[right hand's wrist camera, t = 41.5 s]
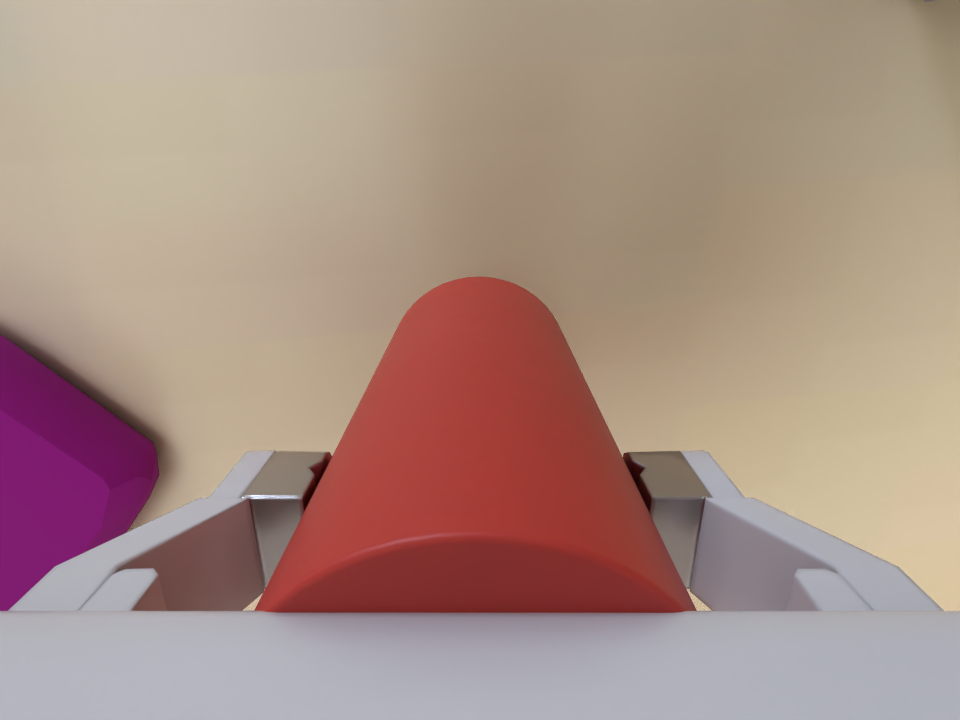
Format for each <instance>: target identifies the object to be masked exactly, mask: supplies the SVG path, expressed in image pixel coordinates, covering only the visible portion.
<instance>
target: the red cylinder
mask: <svg viewBox="0 0 960 720" xmlns="http://www.w3.org/2000/svg"><path fill="white" fill-rule="evenodd" d="M254 611H265V612H276V613H677V612H683V611H697V610H696V608H695V606H694V604H693V602H692V600H691V598H690V596H689V594H688V592H687V590H686V588H685V586H684V584H683V581H682V579H681V577H680V575H679V573H678V571H677V569H676V567H675V565H674V563H673V561H672V559H671V557H670V555H669V553H668V550H667V548H666V546H665V544H664V542H663V540H662V538H661V536H660V534H659V532H658V530H657V528H656V526H655V524H654V521H653V519H652V517H651V515H650V513H649V511H648V509H647V507H646V505H645V503H644V501H643V499H642V497H641V495H640V492H639V490H638V488H637V486H636V484H635V482H634V480H633V478H632V476H631V474H630V472H629V470H628V468H627V466H626V464H625V461H624V459H623V457H622V455H621V453H620V451H619V449H618V447H617V445H616V443H615V441H614V439H613V437H612V435H611V432H610V430H609V428H608V426H607V424H606V422H605V420H604V418H603V416H602V414H601V412H600V410H599V408H598V406H597V404H596V401H595V399H594V397H593V395H592V393H591V391H590V389H589V387H588V385H587V383H586V381H585V379H584V377H583V375H582V372H581V370H580V368H579V366H578V364H577V362H576V360H575V358H574V356H573V354H572V352H571V350H570V348H569V346H568V344H567V341H566V339H565V337H564V335H563V333H562V331H561V329H560V327H559V325H558V323H557V321H556V319H555V318H554V316H553V315H552V313H551V312H550V311H549V309H548V308H547V307H546V306H545V305H544V304H543V303H542V302H541V301H540V300H539V299H538V298H537V297H536V296H534V295H533V294H531V293H530V292H528V291H527V290H526V289H524V288H522V287H520V286H518V285H516V284H513V283H510V282H507V281H505V280H500V279H496V278H489V277H467V278H462V279H457V280H453V281H450V282H447V283H444V284H442V285H440V286H438V287H436V288H434V289H432V290H430V291H429V292H427V293H426V294H424V295H423V296H422V297H421V298H420V299H418V300H417V301H416V302H415V303H414V304H413V305H412V306H411V308H410V309H409V310H408V311H407V312H406V314H405V316H404V317H403V319H402V320H401V322H400V324H399V326H398V328H397V330H396V332H395V334H394V336H393V338H392V340H391V342H390V344H389V346H388V348H387V350H386V351H385V353H384V355H383V357H382V359H381V361H380V363H379V365H378V367H377V369H376V371H375V373H374V375H373V377H372V379H371V381H370V383H369V385H368V387H367V389H366V391H365V393H364V395H363V397H362V399H361V401H360V403H359V405H358V407H357V409H356V411H355V413H354V415H353V417H352V419H351V421H350V423H349V425H348V427H347V429H346V431H345V433H344V434H343V436H342V438H341V440H340V442H339V444H338V446H337V448H336V450H335V452H334V454H333V456H332V458H331V460H330V462H329V464H328V466H327V468H326V470H325V472H324V474H323V476H322V478H321V480H320V482H319V484H318V486H317V488H316V490H315V492H314V494H313V496H312V498H311V500H310V502H309V504H308V506H307V508H306V510H305V512H304V514H303V516H302V518H301V519H300V521H299V523H298V525H297V527H296V529H295V531H294V533H293V535H292V537H291V539H290V541H289V543H288V545H287V547H286V549H285V551H284V553H283V555H282V557H281V559H280V561H279V563H278V565H277V567H276V569H275V571H274V573H273V575H272V577H271V579H270V581H269V583H268V585H267V587H266V589H265V591H264V593H263V595H262V597H261V599H260V601H259V602H258V604H257V606H256V608H255V610H254Z"/></svg>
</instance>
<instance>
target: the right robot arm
mask: <svg viewBox="0 0 960 720" xmlns="http://www.w3.org/2000/svg"><path fill="white" fill-rule="evenodd" d="M331 458H332V455H331V454H330V452H302V451H275V450H274V451H250V452H246V453H245V454H244V456H243V457H242V458H241V459H240V461H239V462H238V463H237V464H236V465H235V467H234V468H233V469H232V470H231V472H230V473H229V474H228V475H227V476H226V478H225V479H224V480H223V481H222V482H221V484H220V485H219V486H218V487H217V489H216V490H215V491H214V492H213V493H212V495H211V496H210V497H209V498H199V499H197V500H195V501H193V502H191V503H188V504H186V505H184V506H182V507H180V508H178V509H176V510H174V511H171V512H169V513H167V514H165V515H163V516H161V517H159V518H157V519H154V520H152V521H150V522H148V523H146V524H144V525H142V526H140V527H137V528H135V529H133V530H131V531H129V532H127V533H125V534H123V535H121V536H118V537H116V538H114V539H112V540H110V541H108V542H106V543H104V544H101V545H99V546H97V547H95V548H93V549H91V550H89V551H87V552H84V553H82V554H80V555H78V556H76V557H74V558H72V559H70V560H67V561H65V562H63V563H61V564H59V565H57V566H55V567H54V568H53V569H52V570H51V571H49V572H48V573H47V574H46V575H45V576H44V577H43V578H42V579H41V580H40V581H39V582H38V583H37V584H36V585H35V586H34V587H33V588H31V589H30V590H29V591H28V592H27V593H26V594H25V595H24V596H23V597H22V598H21V599H20V600H19V601H18V602H17V603H16V604H14V605H13V606H12V607H11V608H10V609H9V610H8V611H0V720H960V611H944V610H943V609H942V608H941V607H940V606H939V605H937V604H936V603H935V602H934V601H933V600H932V599H931V598H930V597H929V596H928V595H927V594H926V593H925V592H924V591H923V590H922V589H921V588H920V587H919V586H918V585H917V584H916V583H915V582H914V581H913V580H912V579H911V578H910V577H909V576H907V575H906V574H905V573H904V572H903V571H902V570H901V569H900V568H899V567H897V566H895V565H893V564H891V563H889V562H887V561H885V560H883V559H881V558H879V557H876V556H874V555H872V554H870V553H868V552H866V551H864V550H862V549H860V548H858V547H855V546H853V545H851V544H849V543H847V542H845V541H843V540H841V539H839V538H837V537H835V536H832V535H830V534H828V533H826V532H824V531H822V530H820V529H818V528H816V527H814V526H811V525H809V524H807V523H805V522H803V521H801V520H799V519H797V518H795V517H793V516H791V515H788V514H786V513H784V512H782V511H780V510H778V509H776V508H774V507H772V506H770V505H767V504H765V503H763V502H761V501H759V500H757V499H755V498H745V497H744V496H743V495H742V493H741V492H740V491H739V490H738V488H737V487H736V486H735V485H734V483H733V482H732V481H731V480H730V478H729V477H728V476H727V475H726V473H725V472H724V471H723V470H722V469H721V467H720V466H719V465H718V464H717V462H716V461H715V460H714V459H713V457H712V456H711V455H710V454H709V453H708V452H706V451H704V450H700V451H661V452H627V453H624V455H623V459H624V461H625V464H626V466H627V468H628V470H629V472H630V474H631V476H632V478H633V480H634V482H635V484H636V486H637V488H638V490H639V492H640V495H641V497H642V499H643V501H644V503H645V505H646V507H647V509H648V511H649V513H650V515H651V517H652V519H653V521H654V524H655V526H656V528H657V530H658V532H659V534H660V536H661V538H662V540H663V542H664V544H665V546H666V548H667V550H668V553H669V555H670V557H671V559H672V561H673V563H674V565H675V567H676V569H677V571H678V573H679V575H680V577H681V579H682V581H683V584H684V586H685V588H686V589H690V592H692V593H693V594H694V595H695V596H696V597H697V598H698V599H700V600H701V601H702V602H703V603H704V604H705V605H706V606H708V607H709V608H710V609H711V610H712V611H683V612H677V613H276V612H265V611H242V610H243V609H244V608H246V607H247V606H248V605H249V604H250V603H251V602H253V601H254V600H255V599H256V598H257V597H258V596H260V595H261V594H262V593H263V592H264V589H266V587H267V585H268V583H269V581H270V579H271V577H272V575H273V573H274V571H275V569H276V567H277V565H278V563H279V561H280V559H281V557H282V555H283V553H284V551H285V549H286V547H287V545H288V543H289V541H290V539H291V537H292V535H293V533H294V531H295V529H296V527H297V525H298V523H299V521H300V519H301V518H302V516H303V514H304V512H305V510H306V508H307V506H308V504H309V502H310V500H311V498H312V496H313V494H314V492H315V490H316V488H317V486H318V484H319V482H320V480H321V478H322V476H323V474H324V472H325V470H326V468H327V466H328V464H329V462H330V460H331Z"/></svg>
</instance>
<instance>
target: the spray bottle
mask: <svg viewBox="0 0 960 720" xmlns="http://www.w3.org/2000/svg"><path fill="white" fill-rule="evenodd" d="M158 477H159V469H158V461H157V454H156V450H155V447H154V444H153V442H152V441H150V440H149V439H147V438H146V437H145V436H143V435H142V434H140V433H139V432H138V431H136V430H135V429H133V428H132V427H130V426H129V425H128V424H126V423H125V422H123V421H122V420H121V419H119V418H118V417H116V416H115V415H114V414H112V413H111V412H109V411H108V410H107V409H105V408H104V407H102V406H101V405H100V404H98V403H97V402H95V401H94V400H92V399H91V398H90V397H88V396H87V395H85V394H84V393H83V392H81V391H80V390H78V389H77V388H76V387H74V386H73V385H71V384H70V383H69V382H67V381H66V380H64V379H63V378H62V377H60V376H59V375H57V374H56V373H54V372H53V371H52V370H50V369H49V368H47V367H46V366H45V365H43V364H42V363H40V362H39V361H38V360H36V359H35V358H33V357H32V356H31V355H29V354H28V353H26V352H25V351H24V350H22V349H21V348H19V347H18V346H16V345H15V344H14V343H12V342H11V341H9V340H8V339H7V338H5V337H4V336H1V335H0V611H8V610H9V609H10V608H11V607H12V606H13V605H14V604H16V603H17V602H18V601H19V600H20V599H21V598H22V597H23V596H24V595H25V594H26V593H27V592H28V591H29V590H30V589H31V588H33V587H34V586H35V585H36V584H37V583H38V582H39V581H40V580H41V579H42V578H43V577H44V576H45V575H46V574H47V573H48V572H49V571H51V570H52V569H53V568H54V567H55V566H57V565H59V564H61V563H63V562H65V561H67V560H70V559H72V558H74V557H76V556H78V555H80V554H82V553H84V552H87V551H89V550H91V549H93V548H95V547H97V546H99V545H101V544H104V543H106V542H108V541H110V540H112V539H114V538H116V537H118V536H121V535H123V534H125V533H126V532H127V531H128V529H129V528H130V526H131V525H132V523H133V522H134V520H135V519H136V517H137V516H138V514H139V512H140V511H141V509H142V508H143V506H144V505H145V503H146V502H147V500H148V499H149V497H150V495H151V492H152V490H153V488H154V486H155V484H156V481H157V479H158Z"/></svg>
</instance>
